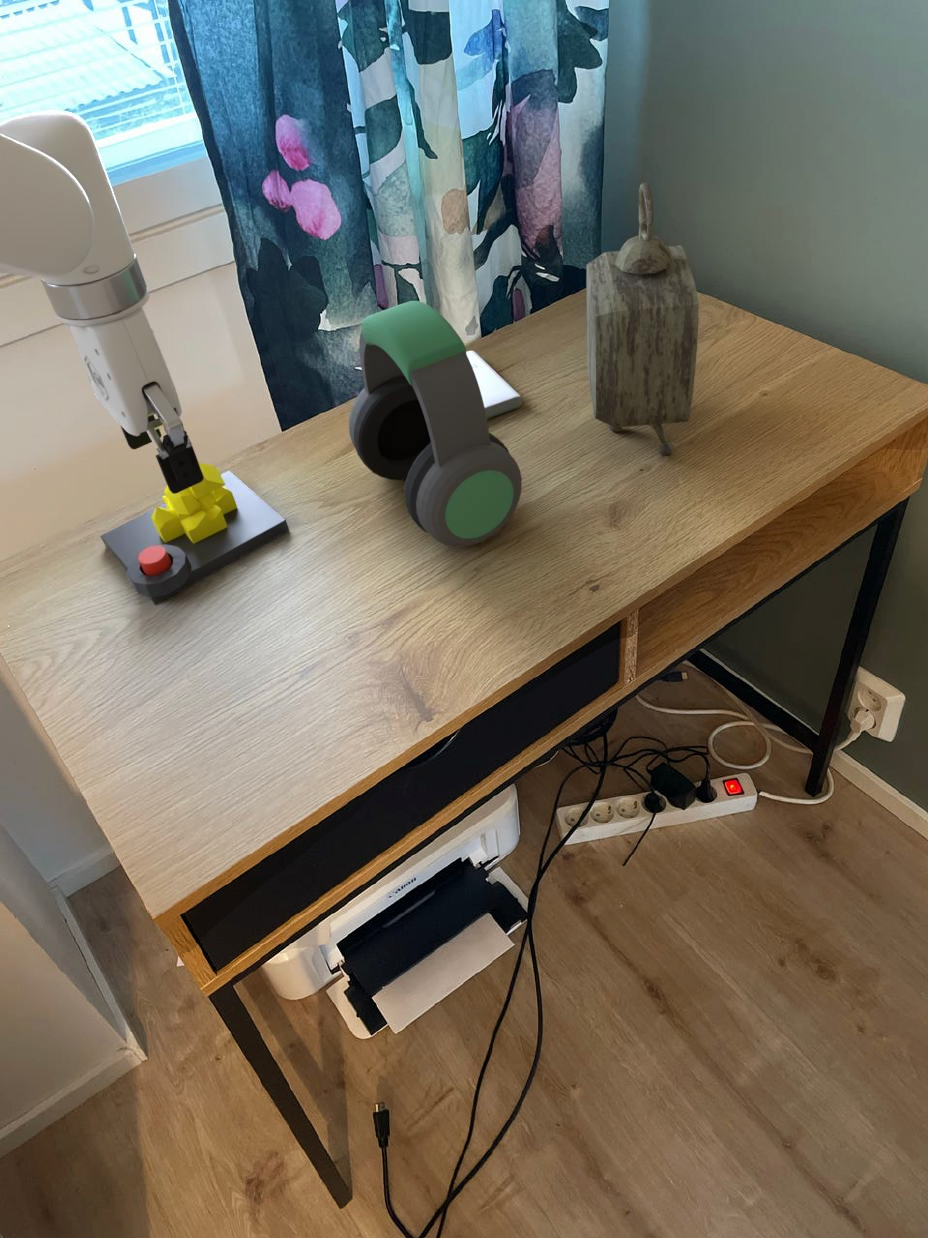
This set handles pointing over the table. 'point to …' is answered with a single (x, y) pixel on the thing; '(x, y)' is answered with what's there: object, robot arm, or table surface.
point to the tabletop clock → (642, 331)
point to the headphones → (431, 426)
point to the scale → (198, 560)
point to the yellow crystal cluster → (195, 508)
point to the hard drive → (493, 388)
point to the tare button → (154, 560)
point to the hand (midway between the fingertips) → (166, 463)
